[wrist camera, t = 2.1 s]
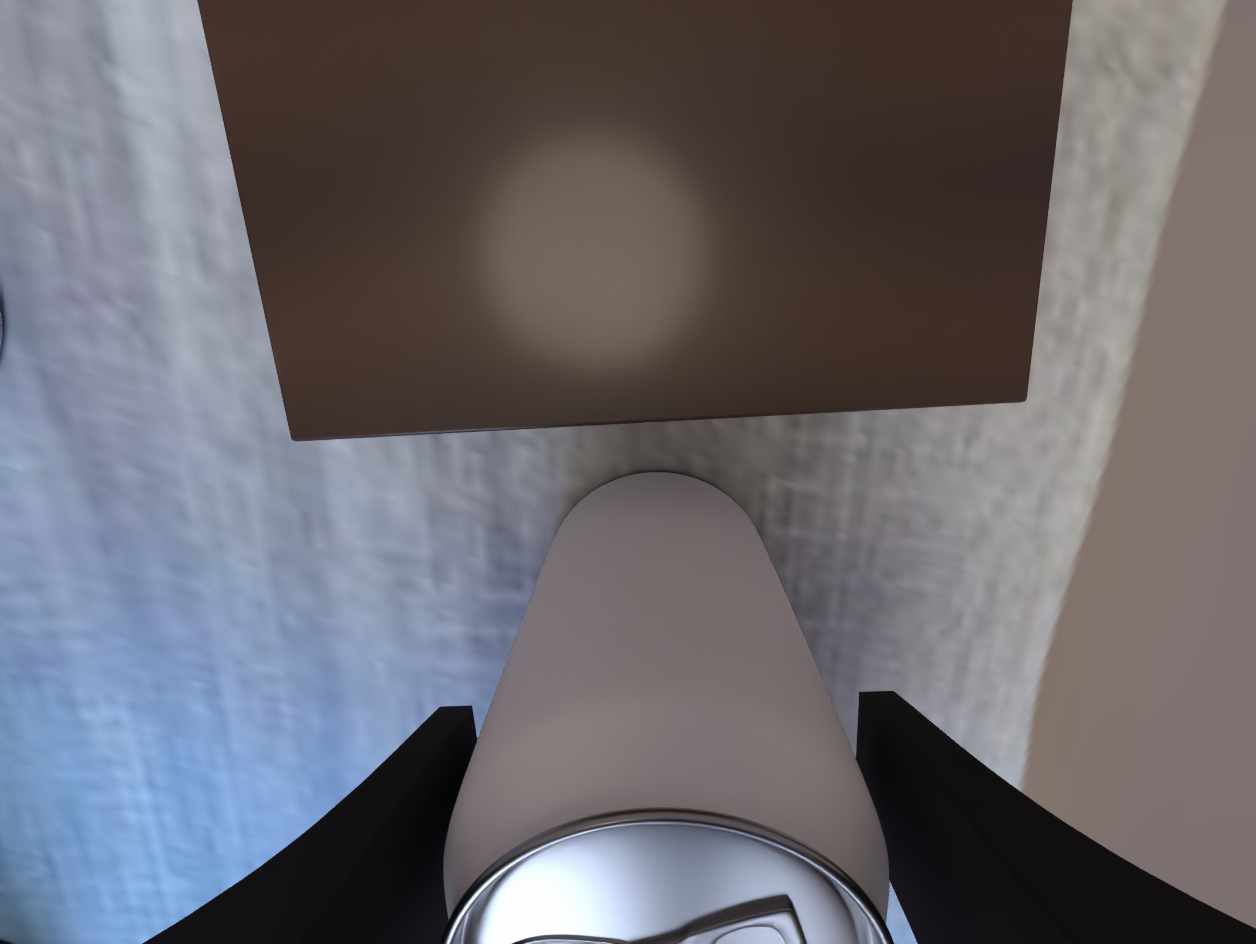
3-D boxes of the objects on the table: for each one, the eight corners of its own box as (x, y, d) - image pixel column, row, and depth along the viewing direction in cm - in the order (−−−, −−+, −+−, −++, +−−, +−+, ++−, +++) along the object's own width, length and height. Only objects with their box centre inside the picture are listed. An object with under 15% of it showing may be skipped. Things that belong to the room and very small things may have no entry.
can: (517, 503, 19) (307, 859, 7) (732, 437, 18) (876, 719, 6) (590, 685, 20) (512, 1207, 9) (789, 633, 20) (983, 1130, 8)
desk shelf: (943, 376, 17) (1057, 411, 13) (365, 408, 18) (264, 453, 13) (978, -63, 15) (1141, -234, 10) (292, -5, 15) (130, -138, 10)
